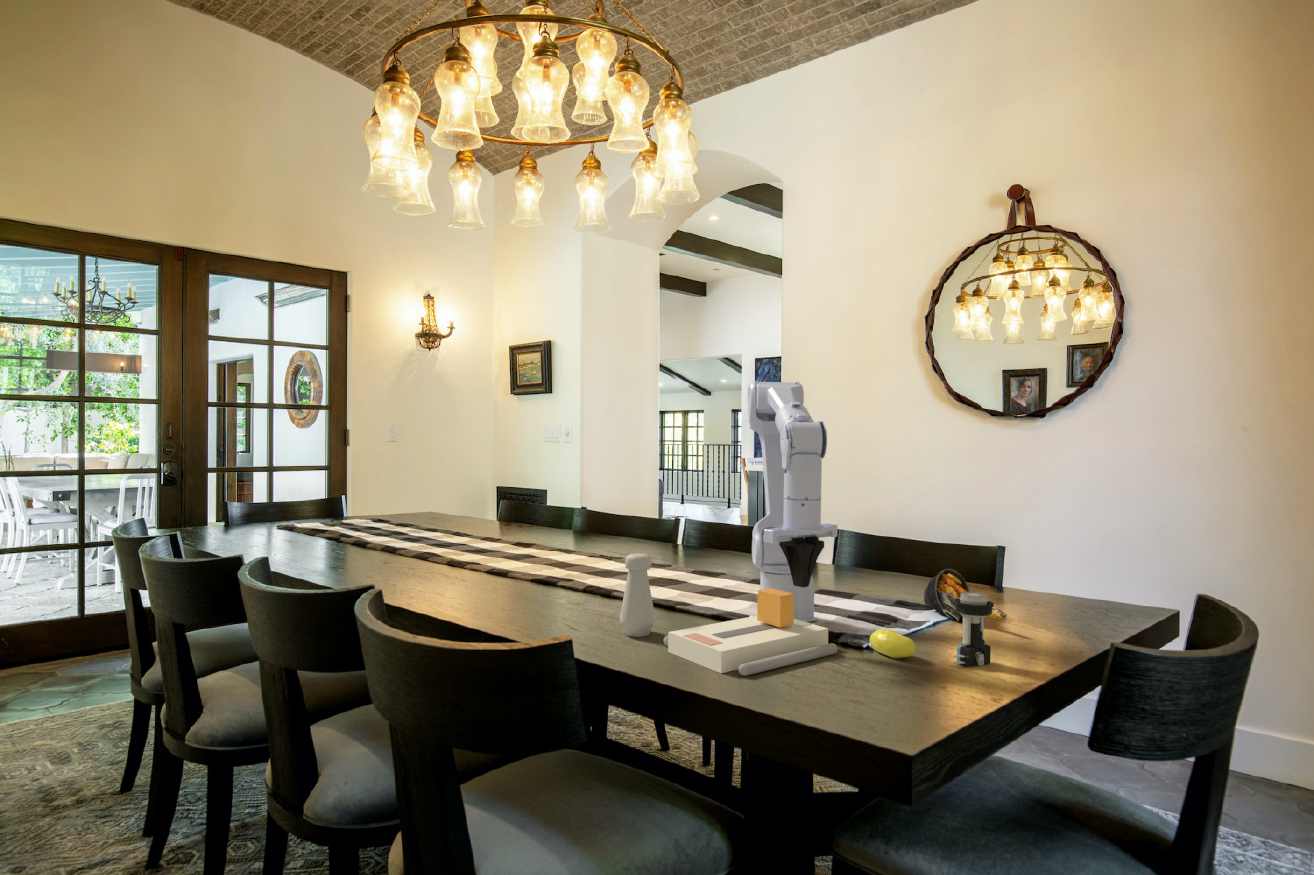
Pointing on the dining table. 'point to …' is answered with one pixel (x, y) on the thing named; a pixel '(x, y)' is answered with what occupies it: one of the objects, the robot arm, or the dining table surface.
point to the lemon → (892, 644)
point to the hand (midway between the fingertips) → (801, 586)
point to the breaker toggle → (775, 607)
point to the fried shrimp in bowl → (950, 594)
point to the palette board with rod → (783, 658)
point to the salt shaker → (637, 597)
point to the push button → (973, 629)
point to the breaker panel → (742, 642)
